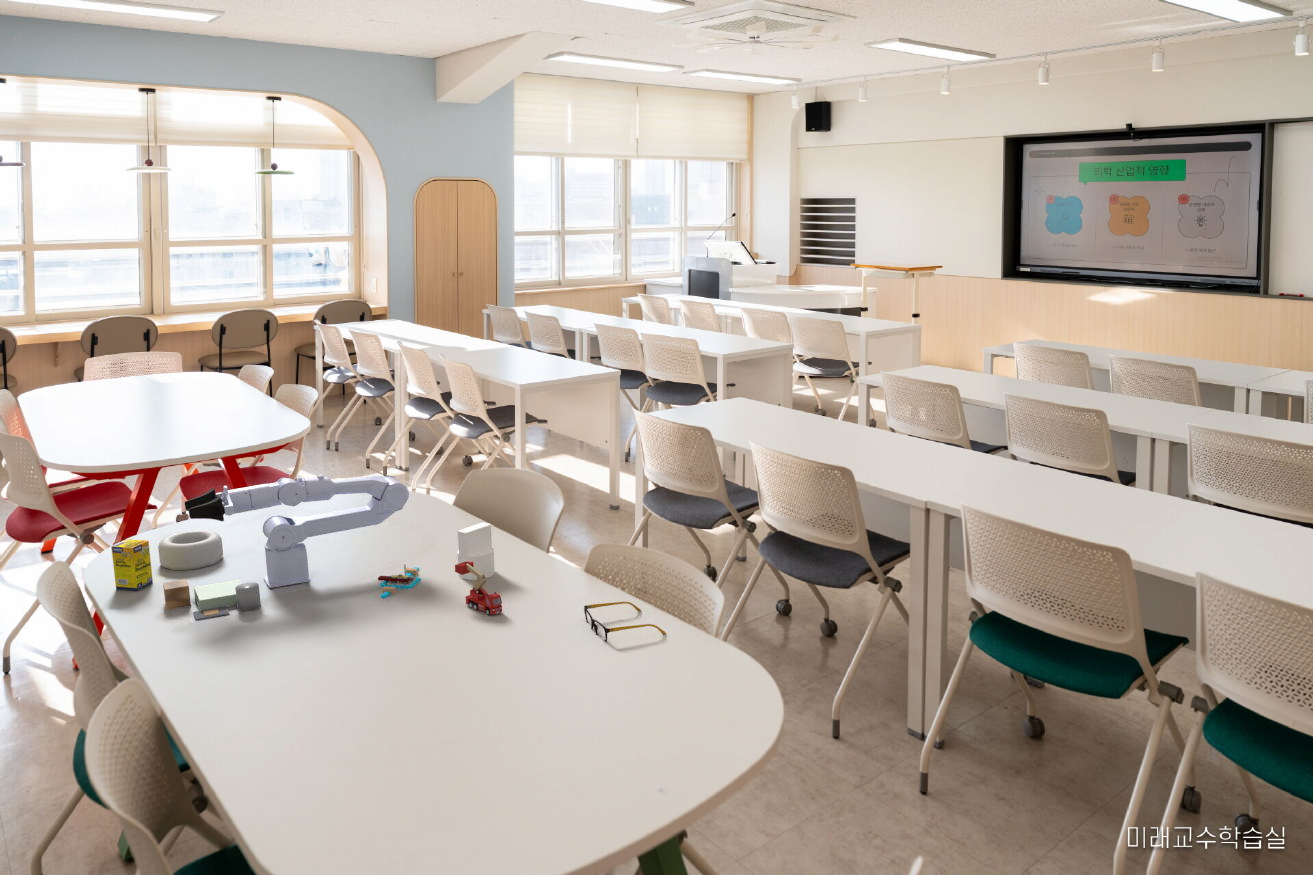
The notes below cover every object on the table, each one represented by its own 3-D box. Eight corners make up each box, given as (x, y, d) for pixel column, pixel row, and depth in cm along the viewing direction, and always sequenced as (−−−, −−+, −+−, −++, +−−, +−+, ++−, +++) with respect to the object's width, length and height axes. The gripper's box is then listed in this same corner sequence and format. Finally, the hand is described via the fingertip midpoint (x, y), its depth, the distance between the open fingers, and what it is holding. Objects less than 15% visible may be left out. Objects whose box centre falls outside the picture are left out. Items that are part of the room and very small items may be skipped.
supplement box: (137, 591, 247) (132, 547, 245) (115, 589, 248) (110, 546, 246) (154, 582, 253) (149, 540, 250) (132, 581, 254) (127, 538, 251)
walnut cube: (188, 599, 242) (186, 579, 241) (191, 606, 238) (188, 585, 237) (165, 603, 240) (162, 582, 239) (167, 610, 236) (164, 589, 234)
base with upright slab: (476, 565, 265) (474, 520, 262) (502, 572, 260) (500, 526, 257) (450, 575, 258) (448, 528, 255) (476, 582, 253) (474, 535, 250)
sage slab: (240, 591, 248) (239, 579, 248) (247, 604, 240) (246, 592, 239) (195, 598, 243) (193, 586, 243) (200, 612, 235) (199, 600, 234)
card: (226, 607, 237) (226, 605, 237) (229, 614, 233) (229, 612, 233) (193, 612, 234) (193, 611, 234) (195, 620, 229) (195, 618, 229)
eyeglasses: (580, 622, 229) (580, 605, 228) (640, 612, 235) (640, 595, 234) (603, 646, 216) (602, 628, 216) (666, 635, 222) (666, 618, 221)
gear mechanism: (361, 598, 244) (398, 601, 242) (359, 576, 242) (397, 579, 241) (396, 569, 263) (431, 572, 261) (395, 549, 262) (430, 551, 260)
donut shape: (147, 570, 262) (144, 544, 261) (183, 551, 277) (180, 527, 275) (201, 573, 260) (199, 547, 258) (235, 554, 274) (232, 530, 273)
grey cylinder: (259, 601, 240) (257, 581, 239) (262, 608, 236) (259, 588, 235) (236, 605, 238) (234, 584, 237) (238, 612, 234) (236, 592, 233)
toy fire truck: (492, 617, 231) (491, 576, 229) (455, 601, 240) (454, 562, 238) (504, 613, 233) (503, 572, 231) (467, 598, 242) (465, 558, 240)
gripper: (241, 476, 251) (180, 486, 245) (251, 489, 239) (188, 500, 232) (245, 504, 253) (185, 515, 246) (256, 518, 240) (192, 530, 234)
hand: (187, 510), depth 239 cm, fingers open, 7 cm apart
